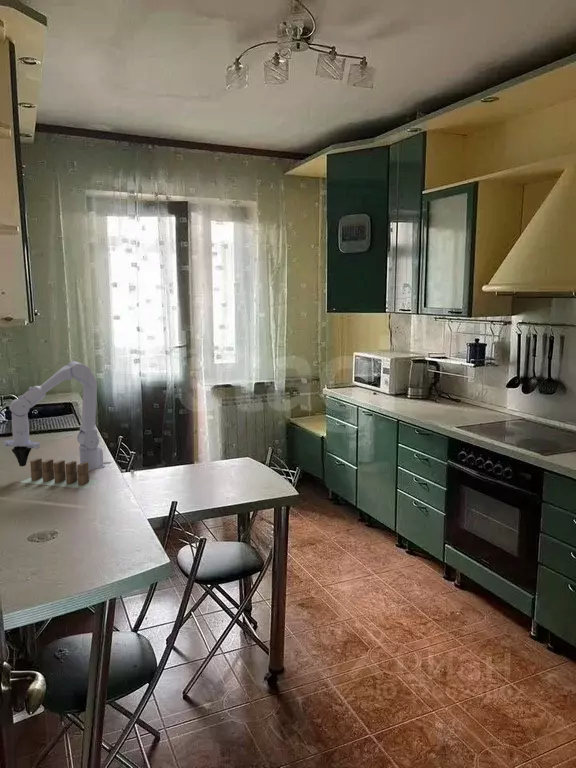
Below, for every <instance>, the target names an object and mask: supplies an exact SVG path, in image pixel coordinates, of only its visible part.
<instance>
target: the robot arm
mask: <svg viewBox="0 0 576 768" xmlns="http://www.w3.org/2000/svg"><path fill="white" fill-rule="evenodd" d="M73 379H75V380H77V382H78V383H80V385H82V413H81V425H80V428H79V432H78V434H77V436H76V437H77V438H76V439H77V442H78V443H79V444H80V445H79V447H78V451H79V453H78V455H79V464H81V463H83V462H88V469H89V471H92V470H97V469H98V468H100V469H102V468H104V467H106V464H104V451H103V449H102V447H101V446H100V445H99V444H100V437H99V436H98V429H97V426H96V415H97V413H96V412H97V390H98V389H97V388H98V387H97V385H98V381H97V379H96V377H95V375H94V374H93V373H92V370H91V367H89V366H87V365H86V364H84V363H83V362H82V363H80V362H78V361H73V360H72V361H70V362H68V363H67V365H66V364H65V365H64V366H62V367H61V368H60V369H58V370H57V372H55V373H54V374H52V375H51V376H50V377H49V378H48V379H46V380H45V381H44V382H43V383H42V384H41V385H34V386H30V387H28V390H27V391H26V392H24V393H23V394H22V395H19V396H17V397H18V398H15V399H13V400H12V401H11V402H10V403H9V407H8V408H9V411H10V412H11V428H12V429H11V431H12V440H9V439H7V440H4V441H3V447H11V452H12V453H13V455H14V456H15V458H16V460H17V462H18V466H19V467H25V466H26V465H27V463H28V458H29V454H31V453H30V452H31V451H32V449H35V450H38V449H41V448H40V447H41V446H40V445H41V444H40V442H36V441H31V440H30V426H29V417H28V416H29V415H28V413H29V412H30V409H32V408H33V407H35V406H36V405H38V403H40V402H41V401H42V400H43V399H45V398H46V394H47V392H49V391H51V390H52V389H53V388H54V387H56V386H57V385H58V384H60V383H62V382H64V381H71V380H73ZM12 447H13V448H12Z"/></svg>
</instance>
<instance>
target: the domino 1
mask: <svg viewBox="0 0 576 768" xmlns="http://www.w3.org/2000/svg"><path fill="white" fill-rule="evenodd" d="M42 462H43V459H42V458H41V457H37V458H34V459H32V460H30V476H31V481H36V480H39V479H41V478H43V470H42Z"/></svg>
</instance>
